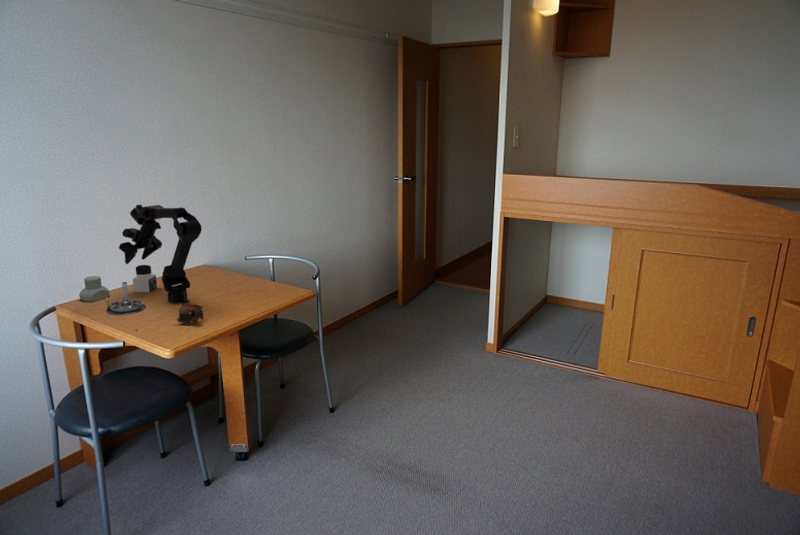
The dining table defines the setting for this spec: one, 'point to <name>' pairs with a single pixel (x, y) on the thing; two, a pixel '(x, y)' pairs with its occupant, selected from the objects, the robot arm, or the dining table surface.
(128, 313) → the flange
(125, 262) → the robot arm
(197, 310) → the pottery mug
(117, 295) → the dining table surface
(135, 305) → the grey studded disc
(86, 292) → the air freshener
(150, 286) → the medicine bottle
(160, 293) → the dining table surface
